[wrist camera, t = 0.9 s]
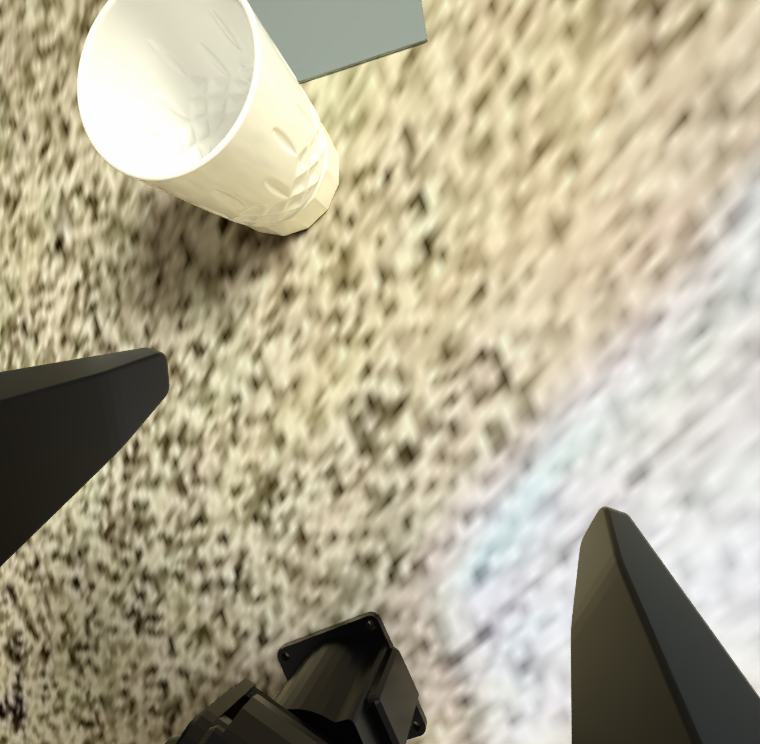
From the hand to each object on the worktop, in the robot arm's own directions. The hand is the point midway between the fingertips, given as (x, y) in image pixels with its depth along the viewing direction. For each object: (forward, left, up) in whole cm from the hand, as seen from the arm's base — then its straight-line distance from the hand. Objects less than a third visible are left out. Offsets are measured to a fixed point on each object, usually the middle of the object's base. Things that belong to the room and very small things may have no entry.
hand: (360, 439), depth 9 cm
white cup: (-3, +15, -16) cm, 22 cm away
